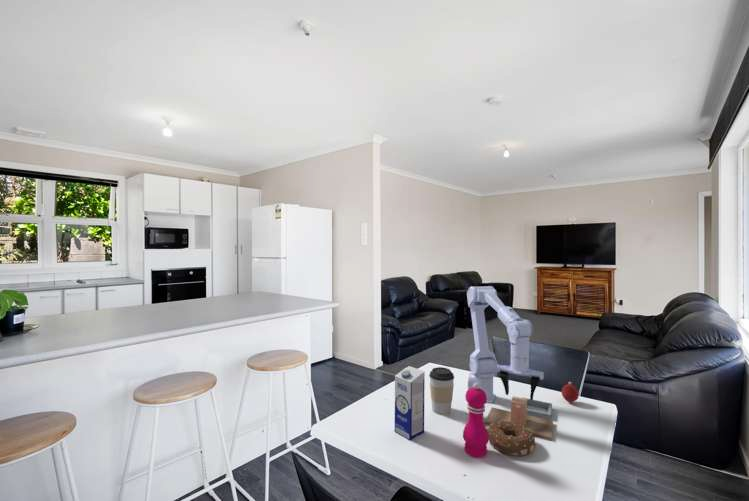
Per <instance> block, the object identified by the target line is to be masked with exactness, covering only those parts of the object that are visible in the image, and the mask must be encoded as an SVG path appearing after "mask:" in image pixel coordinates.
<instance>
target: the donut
mask: <svg viewBox="0 0 749 501" xmlns="http://www.w3.org/2000/svg"><path fill="white" fill-rule="evenodd" d="M486 429H487V432H488V436H489V441H488V443H490V445H491V446H492V447H494V448H495V449H496V450H498V451H499V452H502V453H504V454H507V455H510V456H518V457H519V456H526V455H530V453H532V452H533V451H534V449H536V441H535V439H536V437H534V436H533V435H532V433H531V432H530V431H529V430H528V429H527V428H526V427H524V426H522V425H521V424H517V423H513V422H510V421H509V422H508V421H500V422H495V423H492V424H491V425H489V427H486Z"/></svg>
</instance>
